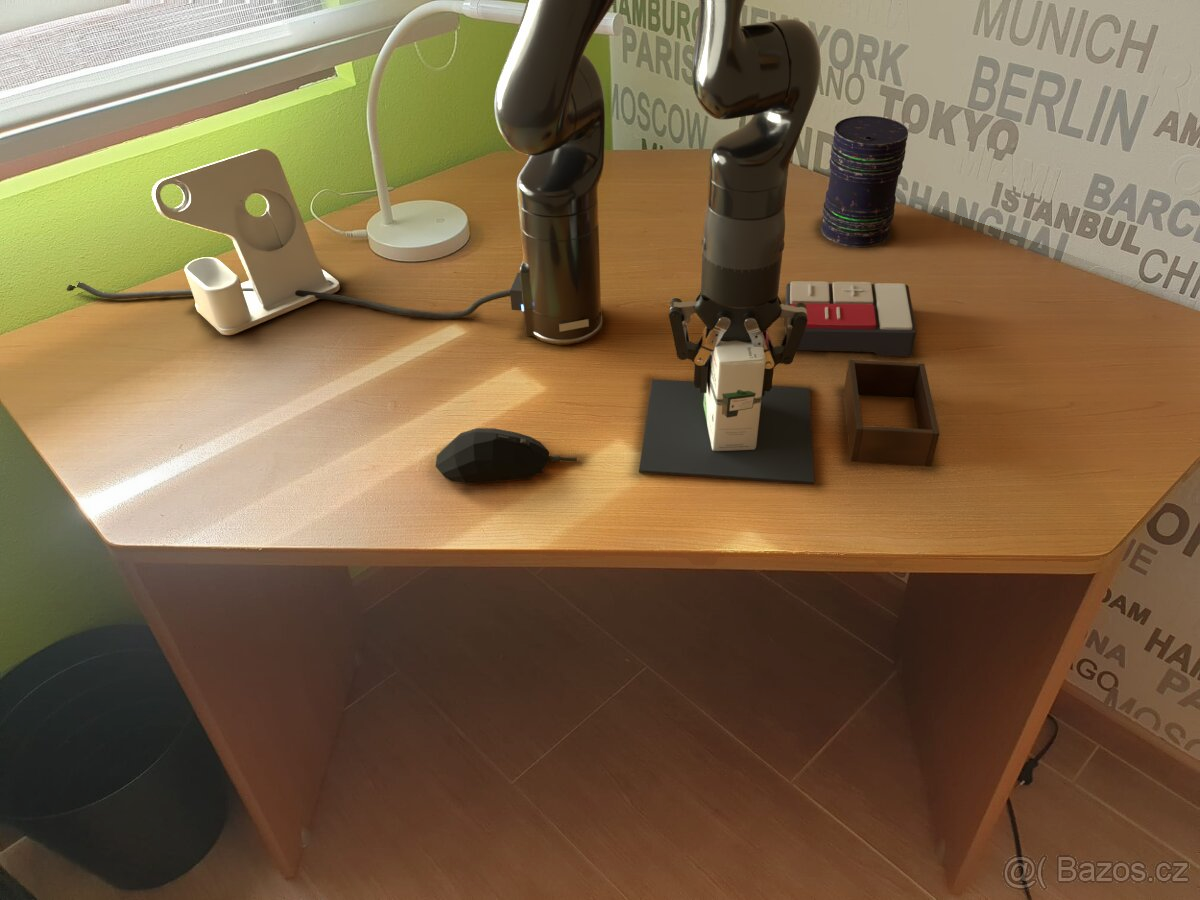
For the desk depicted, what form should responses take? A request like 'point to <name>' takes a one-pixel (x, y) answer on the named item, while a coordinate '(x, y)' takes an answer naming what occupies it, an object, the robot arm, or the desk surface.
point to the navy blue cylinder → (863, 180)
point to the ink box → (734, 395)
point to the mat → (686, 451)
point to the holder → (890, 441)
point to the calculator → (855, 317)
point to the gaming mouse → (493, 457)
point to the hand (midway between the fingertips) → (731, 389)
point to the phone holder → (247, 241)
